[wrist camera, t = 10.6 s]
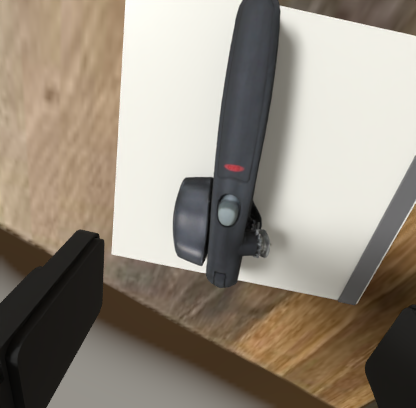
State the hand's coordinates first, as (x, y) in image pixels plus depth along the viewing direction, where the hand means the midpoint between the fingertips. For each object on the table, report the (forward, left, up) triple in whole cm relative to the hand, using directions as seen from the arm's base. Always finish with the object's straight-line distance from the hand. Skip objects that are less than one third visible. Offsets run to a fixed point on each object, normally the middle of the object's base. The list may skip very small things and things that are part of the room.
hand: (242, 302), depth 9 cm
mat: (-2, 0, -14) cm, 14 cm away
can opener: (0, -1, -14) cm, 14 cm away
